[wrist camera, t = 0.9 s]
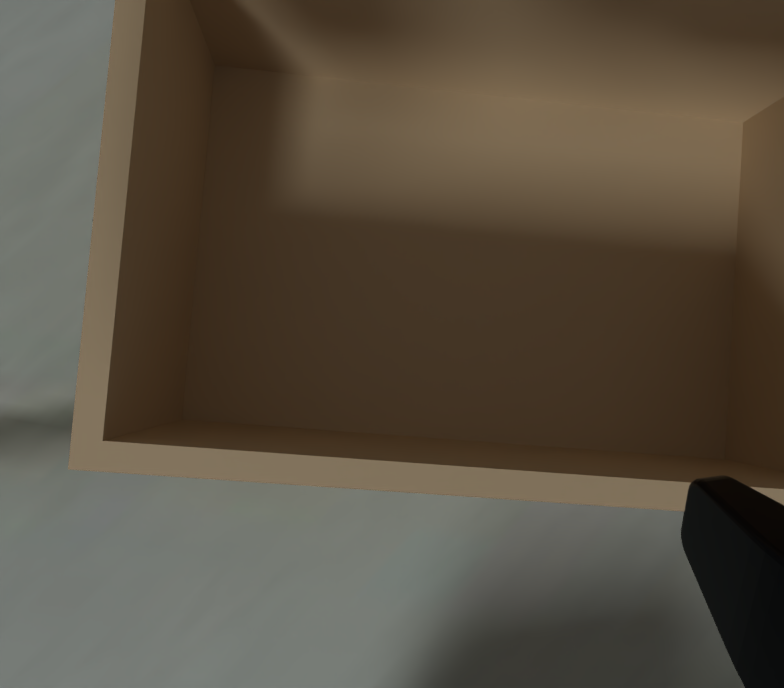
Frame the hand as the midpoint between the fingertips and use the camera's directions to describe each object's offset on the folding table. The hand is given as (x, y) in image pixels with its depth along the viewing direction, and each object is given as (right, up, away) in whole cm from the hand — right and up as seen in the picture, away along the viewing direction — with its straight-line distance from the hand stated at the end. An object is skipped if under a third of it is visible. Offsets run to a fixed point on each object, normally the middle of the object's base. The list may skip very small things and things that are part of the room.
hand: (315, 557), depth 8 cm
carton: (+3, +5, +15) cm, 16 cm away
